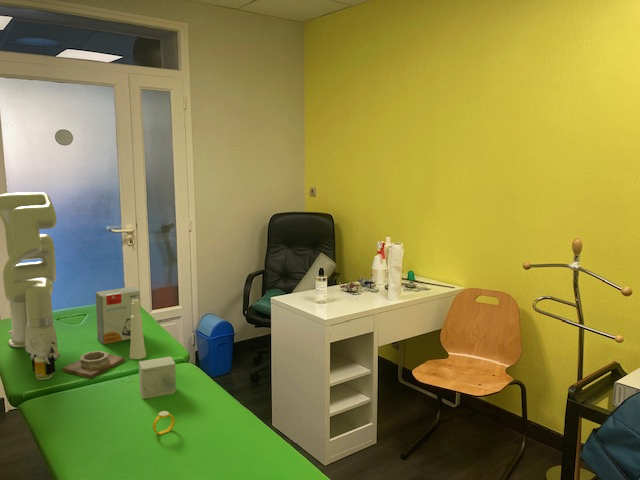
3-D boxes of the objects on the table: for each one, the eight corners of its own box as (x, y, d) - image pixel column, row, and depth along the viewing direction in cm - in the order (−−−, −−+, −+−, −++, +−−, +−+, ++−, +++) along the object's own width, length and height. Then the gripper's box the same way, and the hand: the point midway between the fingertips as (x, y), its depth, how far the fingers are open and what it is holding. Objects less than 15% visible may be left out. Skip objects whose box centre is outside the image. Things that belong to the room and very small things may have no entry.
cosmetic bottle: (149, 355, 198) (147, 299, 194) (138, 361, 193) (135, 303, 189) (137, 352, 201) (135, 296, 197) (125, 357, 196) (123, 301, 191)
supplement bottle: (46, 381, 176) (43, 353, 174) (31, 379, 177) (29, 352, 175) (57, 374, 181) (55, 347, 179) (43, 372, 182) (41, 345, 180)
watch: (170, 427, 151) (171, 408, 150) (175, 432, 149) (176, 412, 148) (151, 434, 147) (151, 413, 146) (155, 438, 145) (156, 417, 144)
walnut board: (62, 371, 183) (62, 361, 183) (98, 354, 198) (97, 345, 197) (91, 378, 179) (90, 368, 178) (125, 360, 193) (124, 351, 192)
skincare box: (142, 400, 165) (141, 368, 163) (139, 391, 171) (138, 360, 169) (176, 393, 170) (175, 363, 168) (172, 385, 176) (171, 355, 174)
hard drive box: (103, 345, 206) (100, 296, 203) (97, 339, 212) (94, 291, 208) (142, 336, 216) (140, 290, 212) (135, 331, 222) (133, 285, 218)
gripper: (11, 320, 175) (16, 370, 178) (49, 329, 168) (53, 381, 172) (31, 313, 181) (35, 362, 185) (68, 321, 175) (72, 372, 179)
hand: (44, 371), depth 178 cm, fingers closed on supplement bottle, 5 cm apart
